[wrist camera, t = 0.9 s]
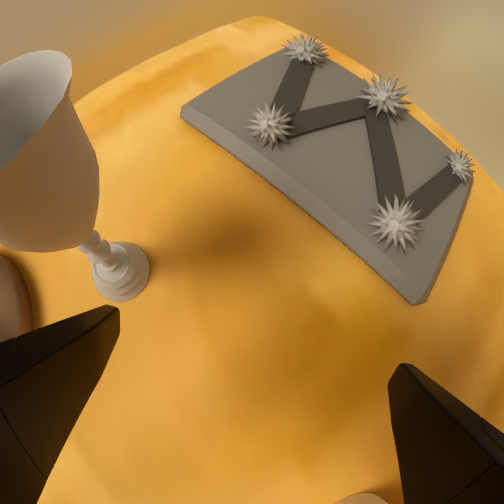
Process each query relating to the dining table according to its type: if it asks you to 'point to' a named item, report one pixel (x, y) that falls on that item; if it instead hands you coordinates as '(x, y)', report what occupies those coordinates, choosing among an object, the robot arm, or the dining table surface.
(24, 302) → the walnut pedestal
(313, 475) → the dining table surface
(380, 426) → the dining table surface
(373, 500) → the vase
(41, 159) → the chalice
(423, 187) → the decorative plate
